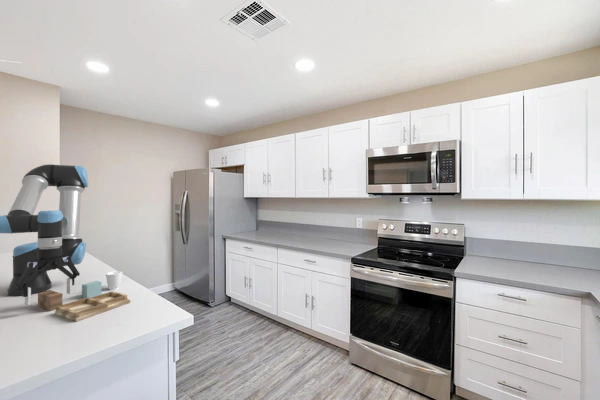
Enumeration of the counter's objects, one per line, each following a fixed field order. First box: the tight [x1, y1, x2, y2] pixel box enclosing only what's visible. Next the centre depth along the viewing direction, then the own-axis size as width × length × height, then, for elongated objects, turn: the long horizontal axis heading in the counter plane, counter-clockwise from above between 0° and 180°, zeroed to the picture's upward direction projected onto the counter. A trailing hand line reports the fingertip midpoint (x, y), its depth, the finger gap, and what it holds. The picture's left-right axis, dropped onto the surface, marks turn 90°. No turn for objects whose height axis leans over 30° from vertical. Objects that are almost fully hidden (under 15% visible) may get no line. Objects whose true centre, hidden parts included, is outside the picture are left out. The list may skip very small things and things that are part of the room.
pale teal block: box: [81, 280, 102, 299], centre depth 125 cm, size 4×6×6 cm, turn 156°
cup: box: [105, 270, 123, 291], centre depth 136 cm, size 7×10×8 cm
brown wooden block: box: [37, 289, 63, 312], centre depth 112 cm, size 10×4×6 cm, turn 66°
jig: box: [54, 290, 131, 323], centre depth 111 cm, size 15×20×3 cm
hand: (49, 298), depth 111 cm, fingers open, 13 cm apart
